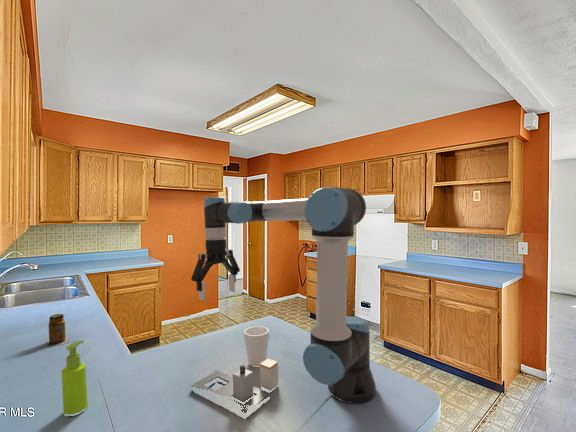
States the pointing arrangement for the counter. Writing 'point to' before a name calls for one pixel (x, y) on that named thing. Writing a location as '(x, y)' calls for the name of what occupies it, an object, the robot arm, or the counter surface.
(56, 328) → the condiment
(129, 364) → the counter surface
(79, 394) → the soap dispenser
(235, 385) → the grey tall block
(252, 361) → the foam cup
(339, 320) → the robot arm
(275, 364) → the plug
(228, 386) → the socket strip
